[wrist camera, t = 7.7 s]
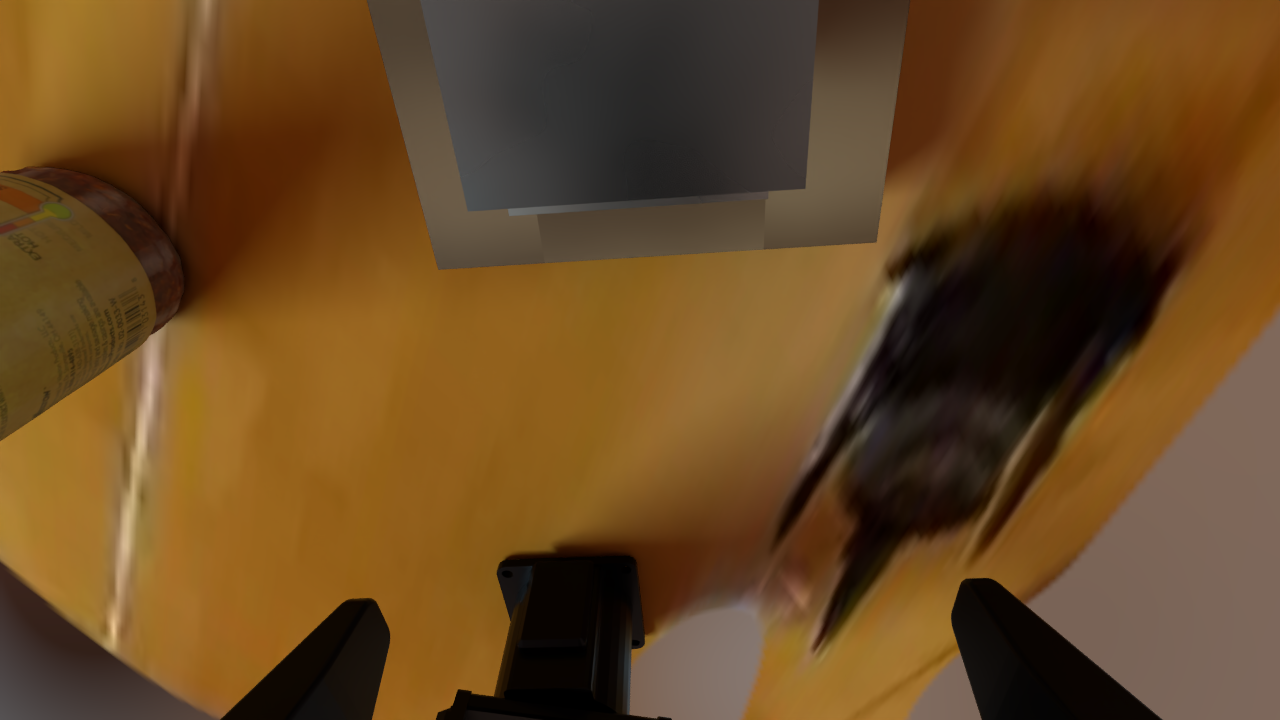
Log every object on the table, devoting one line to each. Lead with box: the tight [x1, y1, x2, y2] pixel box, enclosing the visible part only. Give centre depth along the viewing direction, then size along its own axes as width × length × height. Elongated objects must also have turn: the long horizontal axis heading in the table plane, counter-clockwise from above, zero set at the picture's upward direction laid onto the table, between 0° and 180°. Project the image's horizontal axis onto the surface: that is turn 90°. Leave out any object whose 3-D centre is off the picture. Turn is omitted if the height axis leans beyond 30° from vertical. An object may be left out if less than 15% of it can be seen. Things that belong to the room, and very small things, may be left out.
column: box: [420, 0, 819, 216], centre depth 9 cm, size 5×4×8 cm
